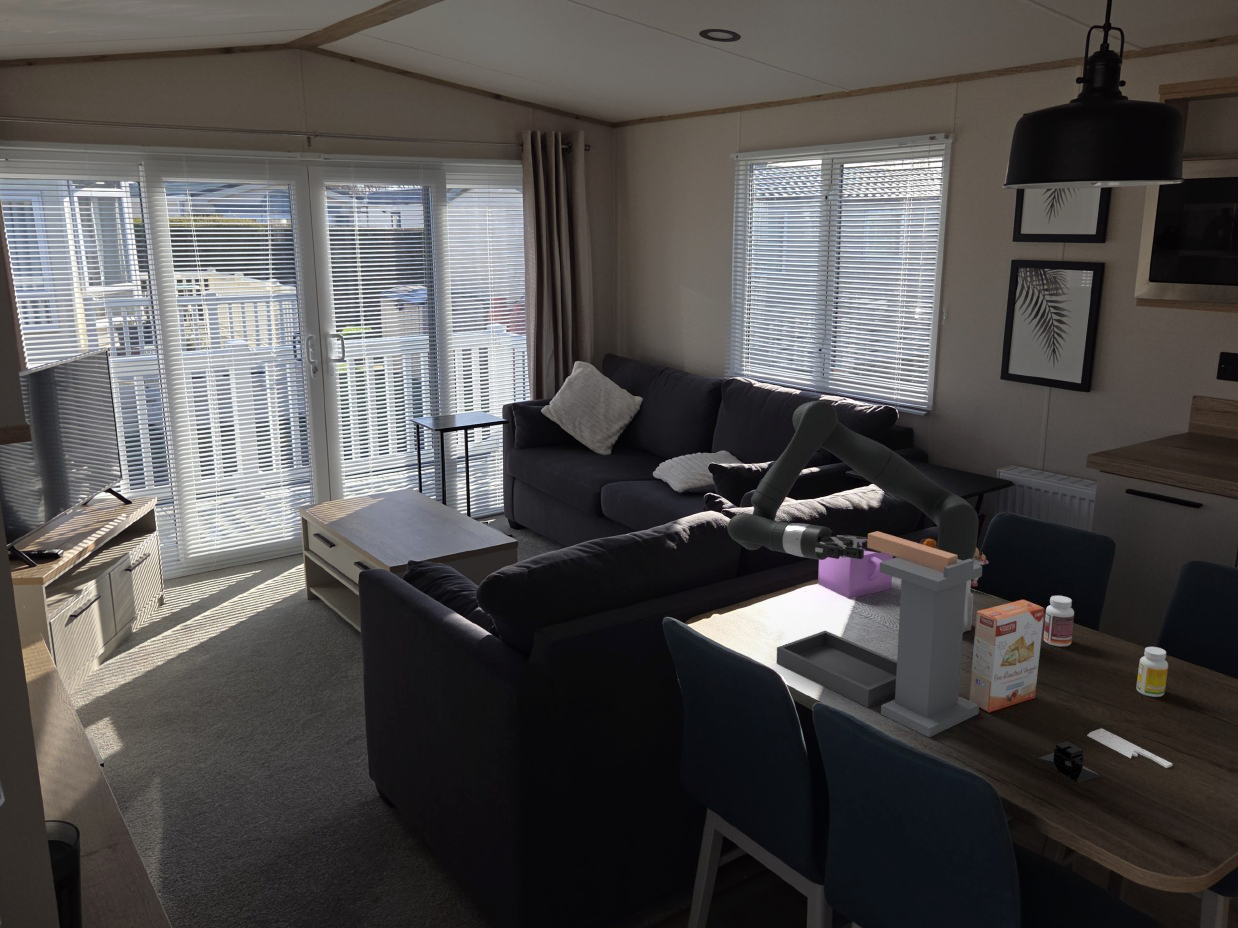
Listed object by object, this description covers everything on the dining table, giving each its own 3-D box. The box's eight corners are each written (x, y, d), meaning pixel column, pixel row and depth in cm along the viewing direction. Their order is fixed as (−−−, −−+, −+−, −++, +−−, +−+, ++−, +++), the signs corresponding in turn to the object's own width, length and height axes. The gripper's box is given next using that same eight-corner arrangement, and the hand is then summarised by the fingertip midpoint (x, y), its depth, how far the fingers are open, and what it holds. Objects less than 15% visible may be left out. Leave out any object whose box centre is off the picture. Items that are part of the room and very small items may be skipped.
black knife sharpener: (1027, 758, 186) (1028, 736, 185) (1054, 749, 189) (1056, 727, 188) (1082, 790, 175) (1084, 766, 174) (1110, 780, 178) (1112, 757, 177)
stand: (869, 708, 205) (877, 554, 197) (918, 687, 214) (927, 538, 206) (929, 737, 193) (939, 574, 185) (978, 713, 202) (990, 557, 194)
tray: (776, 663, 227) (776, 647, 226) (824, 645, 236) (825, 630, 235) (867, 707, 206) (868, 689, 205) (916, 686, 215) (917, 669, 214)
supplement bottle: (1130, 689, 212) (1135, 648, 210) (1147, 684, 214) (1152, 643, 212) (1153, 699, 207) (1158, 657, 205) (1170, 694, 209) (1175, 652, 207)
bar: (867, 547, 208) (867, 533, 207) (876, 544, 209) (877, 531, 209) (947, 572, 192) (948, 558, 191) (956, 569, 194) (957, 555, 193)
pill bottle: (1076, 643, 235) (1081, 600, 233) (1061, 649, 232) (1065, 605, 229) (1053, 634, 240) (1057, 592, 238) (1037, 640, 237) (1041, 597, 234)
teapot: (843, 567, 290) (845, 522, 286) (903, 594, 268) (906, 545, 265) (802, 576, 283) (803, 530, 280) (860, 605, 261) (863, 555, 258)
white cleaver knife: (1153, 774, 180) (1154, 769, 180) (1084, 738, 193) (1084, 733, 193) (1172, 767, 182) (1172, 761, 182) (1102, 732, 195) (1102, 727, 195)
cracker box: (990, 714, 202) (997, 619, 197) (967, 702, 207) (974, 609, 202) (1037, 699, 208) (1046, 606, 203) (1014, 687, 213) (1022, 597, 208)
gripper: (791, 529, 218) (857, 539, 207) (824, 520, 228) (888, 529, 218) (790, 562, 219) (856, 573, 208) (823, 552, 229) (887, 562, 219)
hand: (872, 551), depth 213 cm, fingers open, 8 cm apart
